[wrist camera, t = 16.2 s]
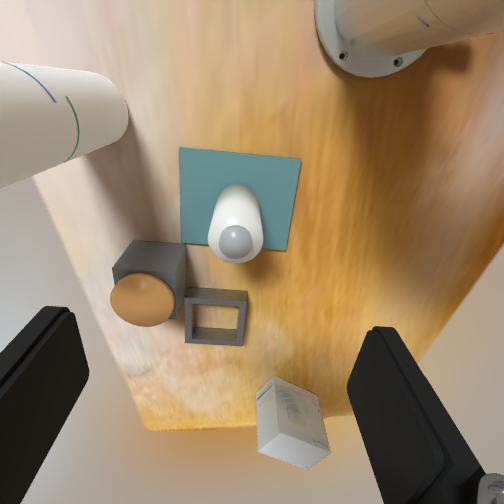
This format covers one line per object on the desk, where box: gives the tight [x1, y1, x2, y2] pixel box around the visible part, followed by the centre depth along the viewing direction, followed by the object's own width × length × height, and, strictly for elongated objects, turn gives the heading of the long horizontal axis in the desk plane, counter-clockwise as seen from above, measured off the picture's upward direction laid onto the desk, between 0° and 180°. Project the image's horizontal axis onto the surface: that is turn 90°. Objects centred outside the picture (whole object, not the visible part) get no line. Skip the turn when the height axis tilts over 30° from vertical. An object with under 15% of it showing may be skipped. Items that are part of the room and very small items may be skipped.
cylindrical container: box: [0, 62, 129, 188], centre depth 20 cm, size 7×7×25 cm
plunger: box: [110, 273, 175, 327], centre depth 36 cm, size 7×7×5 cm
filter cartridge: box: [208, 183, 263, 264], centre depth 31 cm, size 5×5×11 cm
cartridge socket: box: [184, 287, 247, 346], centre depth 44 cm, size 9×9×2 cm
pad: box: [179, 147, 301, 251], centre depth 36 cm, size 14×12×1 cm
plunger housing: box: [112, 240, 187, 319], centre depth 38 cm, size 7×7×7 cm
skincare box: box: [256, 376, 331, 470], centre depth 51 cm, size 10×6×10 cm, turn 56°
